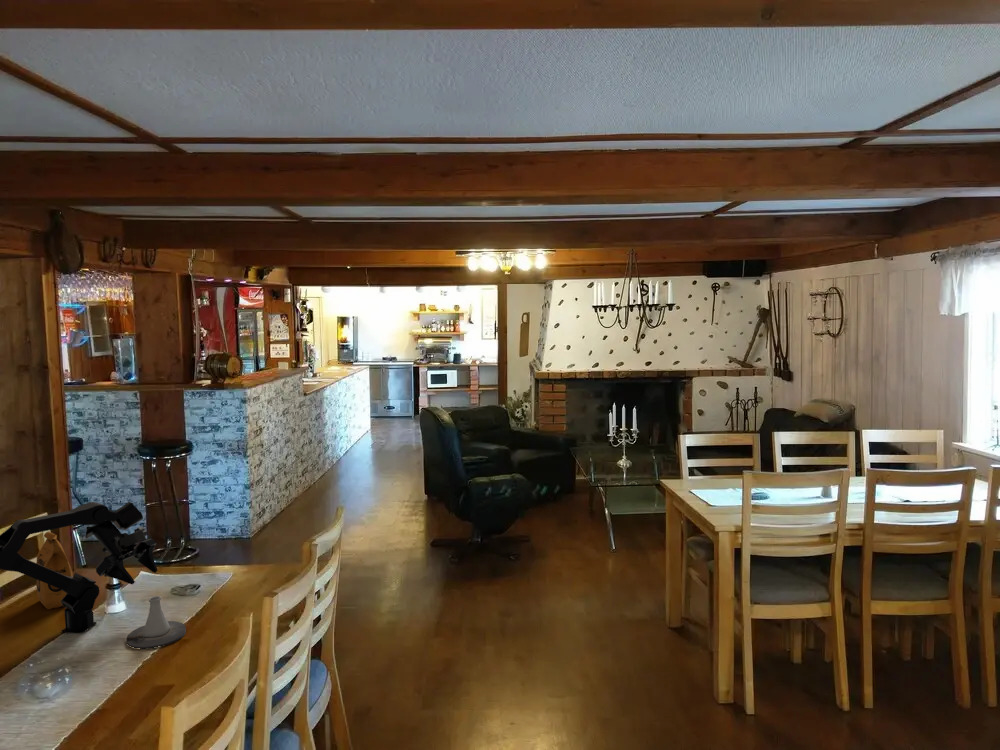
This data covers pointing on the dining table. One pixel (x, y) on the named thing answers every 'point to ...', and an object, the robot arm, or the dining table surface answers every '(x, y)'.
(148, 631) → the flask
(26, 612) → the dining table surface
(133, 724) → the dining table surface
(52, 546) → the coffee package
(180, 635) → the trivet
